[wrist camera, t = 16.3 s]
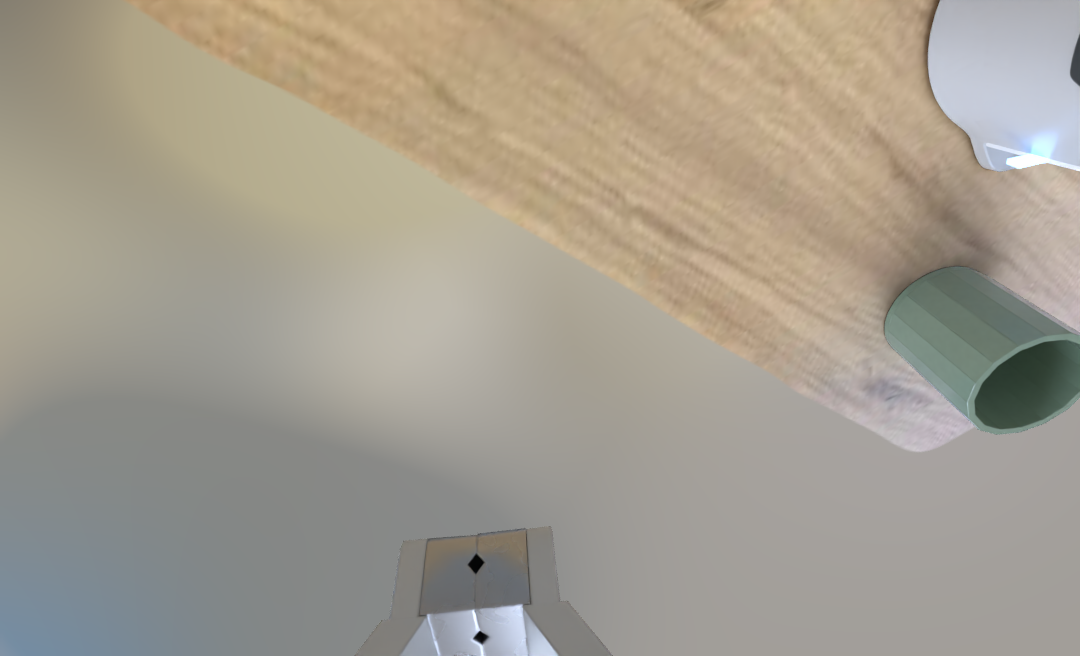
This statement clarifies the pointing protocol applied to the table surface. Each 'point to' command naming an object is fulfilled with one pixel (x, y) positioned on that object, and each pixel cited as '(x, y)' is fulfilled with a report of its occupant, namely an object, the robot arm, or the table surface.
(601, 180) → the table surface
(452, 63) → the table surface
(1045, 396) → the sage cup
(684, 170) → the table surface
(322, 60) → the table surface
